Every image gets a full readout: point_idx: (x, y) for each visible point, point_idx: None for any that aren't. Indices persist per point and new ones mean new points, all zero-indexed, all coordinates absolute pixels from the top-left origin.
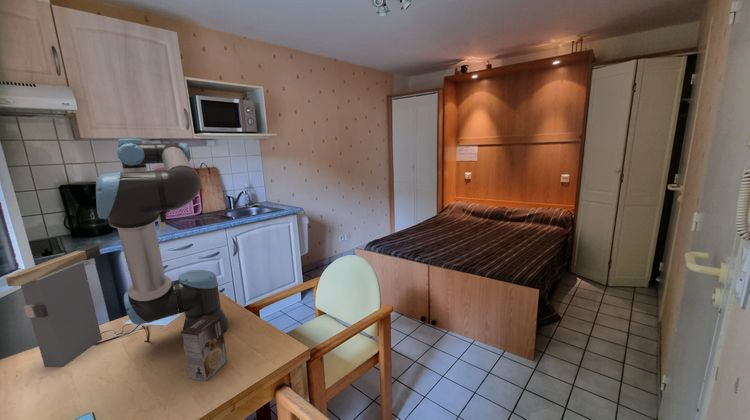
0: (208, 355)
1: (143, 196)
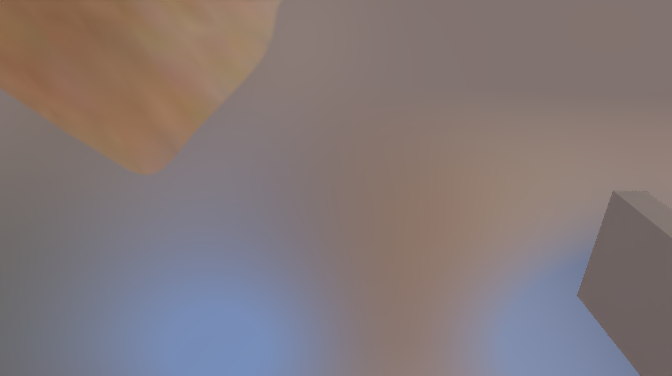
0: None
1: None
